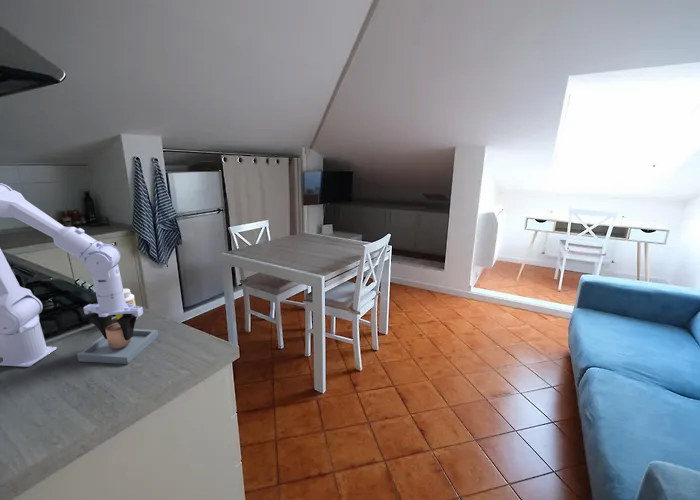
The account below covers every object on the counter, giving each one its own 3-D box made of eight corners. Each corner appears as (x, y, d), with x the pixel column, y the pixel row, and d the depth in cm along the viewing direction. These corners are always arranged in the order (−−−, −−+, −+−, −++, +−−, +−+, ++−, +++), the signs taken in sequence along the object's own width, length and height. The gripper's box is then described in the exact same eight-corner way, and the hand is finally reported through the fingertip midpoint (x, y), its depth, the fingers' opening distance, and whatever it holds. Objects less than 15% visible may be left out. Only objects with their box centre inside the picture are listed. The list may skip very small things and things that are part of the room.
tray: (78, 361, 84) (76, 354, 83) (115, 333, 96) (114, 327, 95) (128, 364, 83) (126, 357, 83) (158, 336, 96) (157, 330, 95)
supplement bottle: (125, 315, 106) (119, 286, 103) (142, 316, 106) (137, 287, 103) (112, 324, 101) (106, 294, 97) (131, 325, 101) (125, 295, 97)
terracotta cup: (104, 347, 87) (100, 331, 85) (121, 334, 93) (118, 319, 91) (122, 349, 87) (118, 332, 85) (138, 335, 93) (135, 320, 91)
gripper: (69, 297, 81) (80, 344, 85) (126, 300, 81) (135, 347, 85) (91, 285, 88) (101, 330, 92) (144, 288, 87) (152, 332, 91)
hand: (119, 337), depth 89 cm, fingers closed on terracotta cup, 5 cm apart
